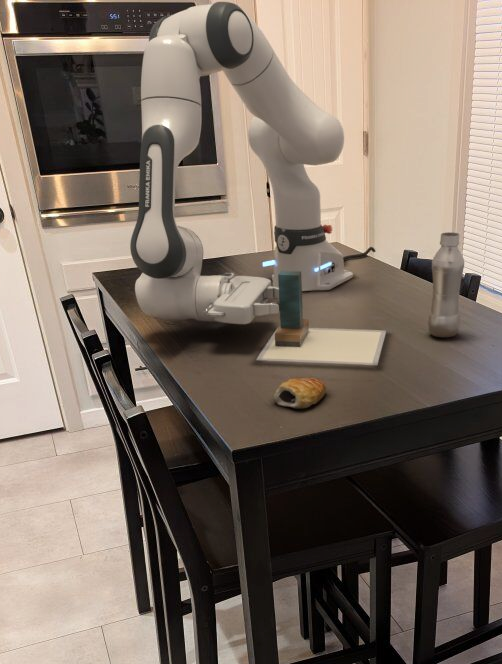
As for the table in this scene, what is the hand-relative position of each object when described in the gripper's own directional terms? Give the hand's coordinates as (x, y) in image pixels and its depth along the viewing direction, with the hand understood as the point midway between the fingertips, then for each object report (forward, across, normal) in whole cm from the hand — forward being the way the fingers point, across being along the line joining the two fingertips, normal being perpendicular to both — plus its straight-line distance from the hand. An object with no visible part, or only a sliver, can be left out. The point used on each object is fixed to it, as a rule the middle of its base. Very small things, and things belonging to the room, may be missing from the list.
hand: (284, 301), depth 142 cm
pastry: (+8, -29, +8) cm, 31 cm away
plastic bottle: (+32, +7, +8) cm, 34 cm away
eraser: (+1, 0, +8) cm, 8 cm away
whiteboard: (+8, -3, +8) cm, 12 cm away
